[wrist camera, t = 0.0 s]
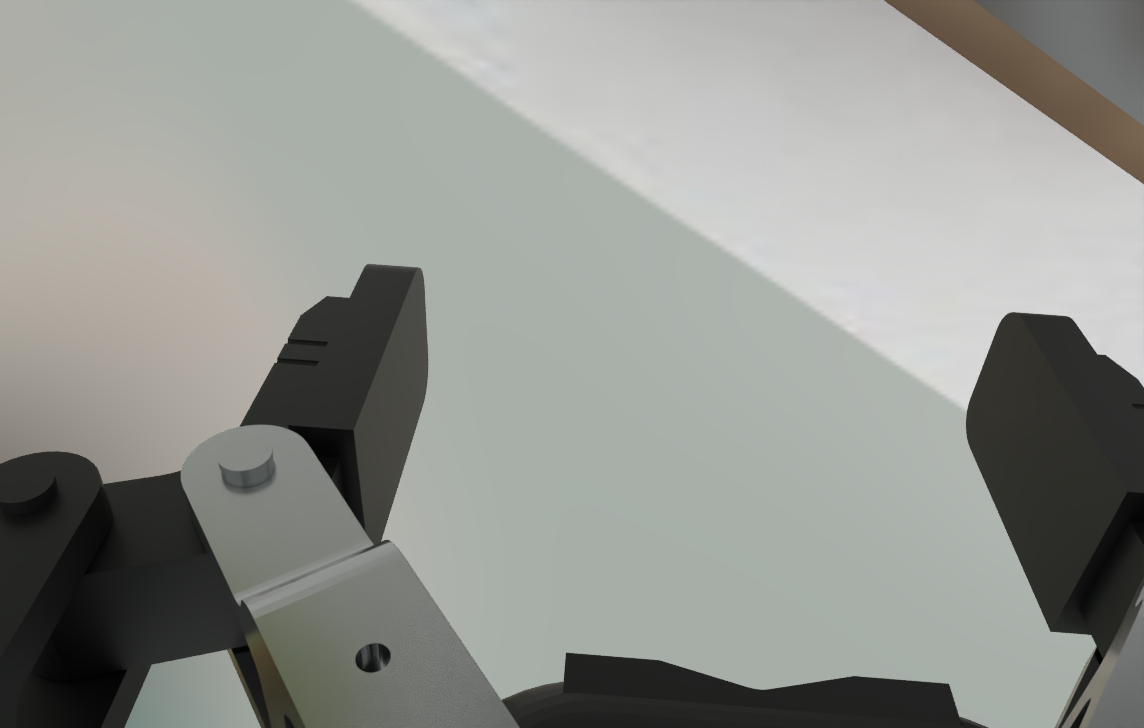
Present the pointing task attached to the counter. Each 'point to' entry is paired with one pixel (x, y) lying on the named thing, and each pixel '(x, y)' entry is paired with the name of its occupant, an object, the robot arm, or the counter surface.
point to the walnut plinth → (1057, 61)
